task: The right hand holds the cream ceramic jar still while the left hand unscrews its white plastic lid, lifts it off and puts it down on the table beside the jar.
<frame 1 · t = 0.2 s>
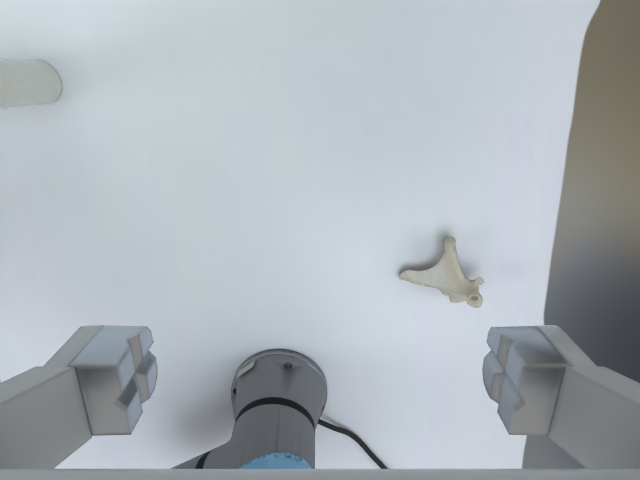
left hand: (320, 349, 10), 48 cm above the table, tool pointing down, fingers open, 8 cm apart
jar: (41, 82, 53), on the table
bone: (438, 261, 62), on the table
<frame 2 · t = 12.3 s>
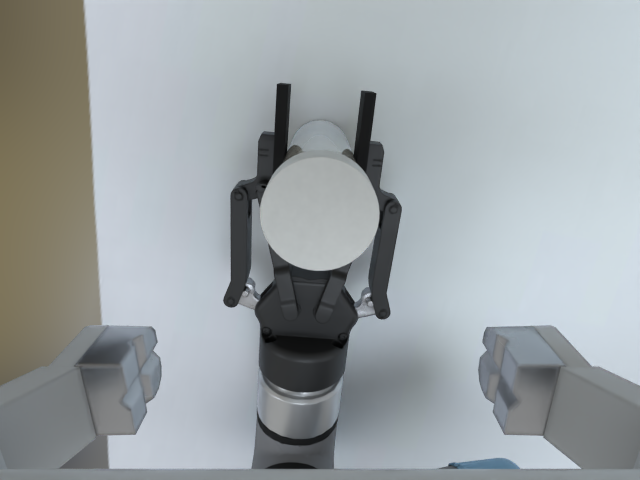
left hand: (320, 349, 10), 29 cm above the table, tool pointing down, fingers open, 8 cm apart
right hand: (326, 88, 30), fingers closed on jar, 5 cm apart
jar: (319, 149, 37), on the table, touching right hand
lid: (319, 214, 20), point 18 cm above the table, screwed on, not yet turned
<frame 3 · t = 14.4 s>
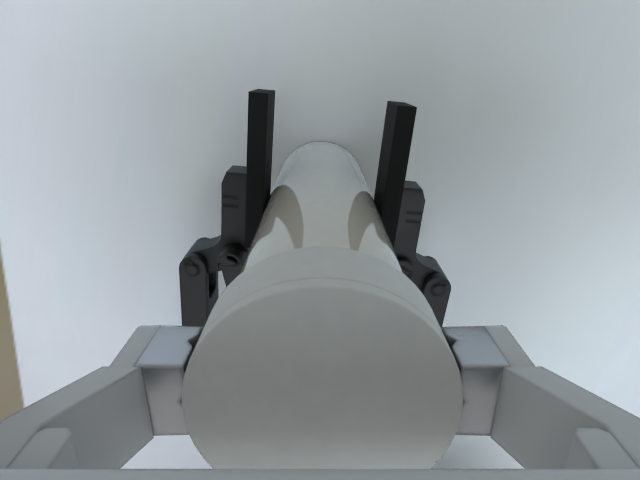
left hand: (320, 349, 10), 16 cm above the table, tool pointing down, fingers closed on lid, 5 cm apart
right hand: (332, 98, 18), fingers closed on jar, 5 cm apart
jar: (320, 184, 26), on the table, touching right hand
lid: (322, 399, 9), point 18 cm above the table, screwed on, not yet turned, touching left hand
when the left hand's fingers open (17 cm above the table, at t = 15.6 s): lid stays where it is, point 18 cm above the table.
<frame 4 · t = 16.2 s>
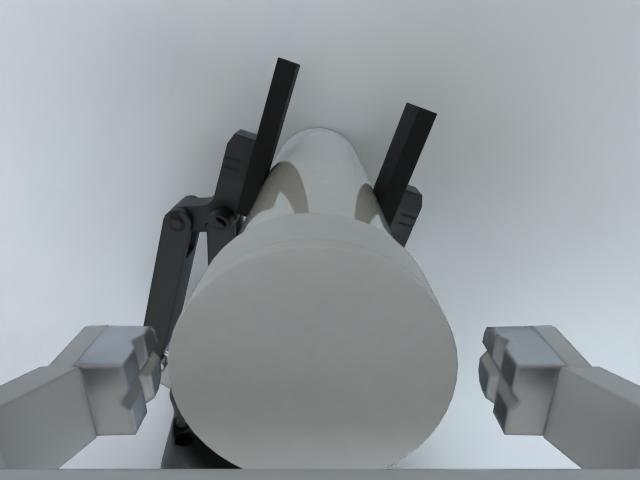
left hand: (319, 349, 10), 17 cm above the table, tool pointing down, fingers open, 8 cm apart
jar: (317, 171, 26), on the table, touching right hand
lid: (313, 368, 9), point 18 cm above the table, turned 61° so far, risen 0.1 cm, still on its thread
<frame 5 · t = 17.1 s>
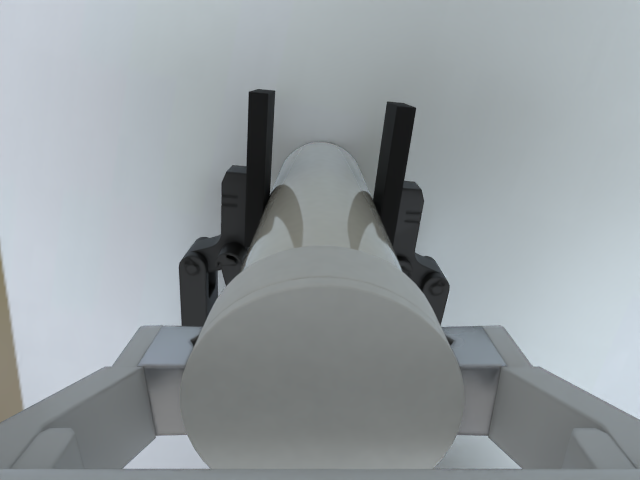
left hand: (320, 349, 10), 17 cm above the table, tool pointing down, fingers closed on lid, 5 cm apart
right hand: (331, 99, 18), fingers closed on jar, 5 cm apart
jar: (320, 184, 26), on the table, touching right hand
lid: (322, 399, 9), point 18 cm above the table, turned 61° so far, risen 0.1 cm, still on its thread, touching left hand
when the left hand's fingers open (2 cm above the table, at t = 23.6 s): lid drops 2 cm, point 2 cm above the table.
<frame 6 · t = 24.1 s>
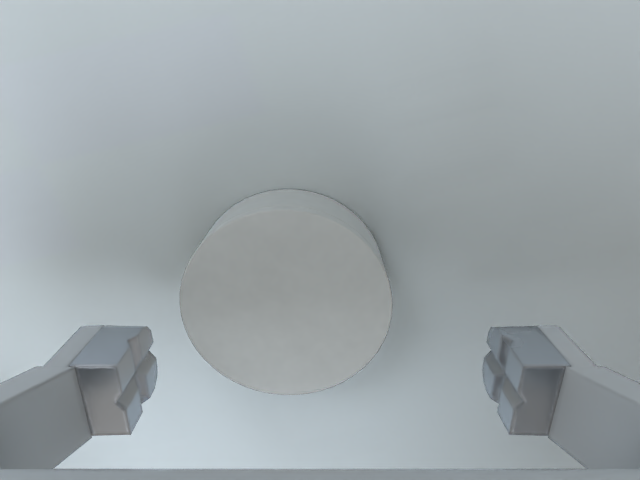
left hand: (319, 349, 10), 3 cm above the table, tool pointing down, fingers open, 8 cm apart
lid: (287, 304, 12), point 2 cm above the table, off its thread
when the right hand's fingers open (6 cm above the table, at t = 24.5 s): jar stays where it is, on the table.
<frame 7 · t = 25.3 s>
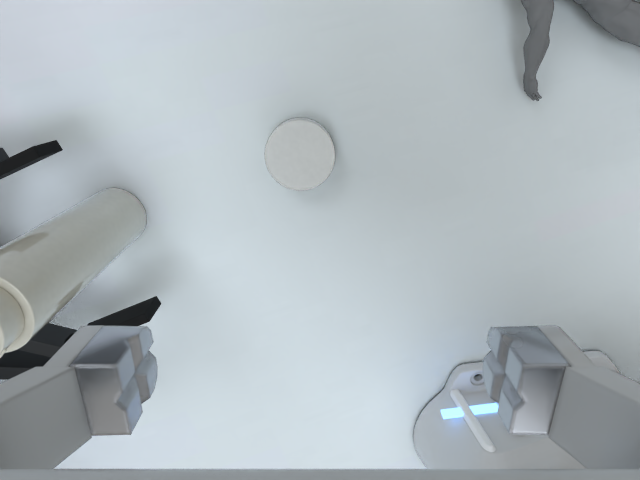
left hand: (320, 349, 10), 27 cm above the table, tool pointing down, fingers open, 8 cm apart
jar: (117, 215, 38), on the table
lid: (300, 155, 35), point 2 cm above the table, off its thread
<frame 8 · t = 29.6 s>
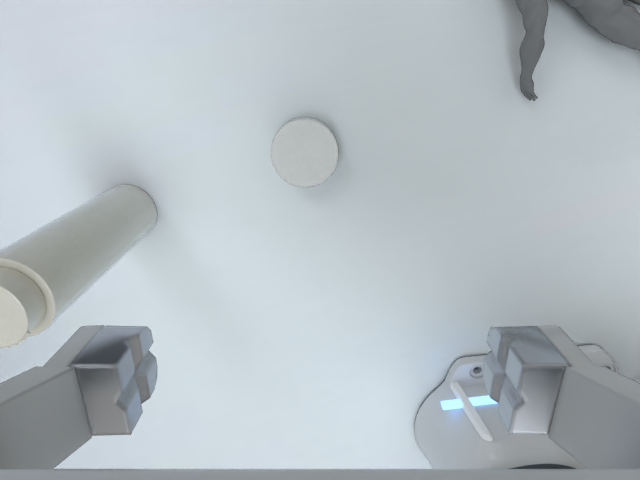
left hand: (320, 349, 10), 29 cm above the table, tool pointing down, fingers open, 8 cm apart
jar: (129, 211, 39), on the table
lid: (304, 153, 36), point 2 cm above the table, off its thread
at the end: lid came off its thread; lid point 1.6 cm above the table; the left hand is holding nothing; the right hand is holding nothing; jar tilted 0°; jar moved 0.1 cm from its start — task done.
